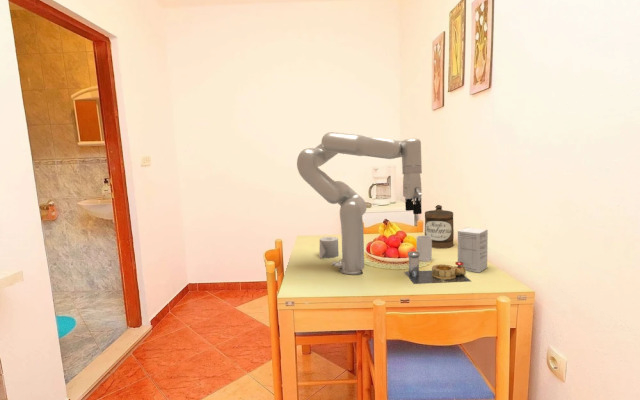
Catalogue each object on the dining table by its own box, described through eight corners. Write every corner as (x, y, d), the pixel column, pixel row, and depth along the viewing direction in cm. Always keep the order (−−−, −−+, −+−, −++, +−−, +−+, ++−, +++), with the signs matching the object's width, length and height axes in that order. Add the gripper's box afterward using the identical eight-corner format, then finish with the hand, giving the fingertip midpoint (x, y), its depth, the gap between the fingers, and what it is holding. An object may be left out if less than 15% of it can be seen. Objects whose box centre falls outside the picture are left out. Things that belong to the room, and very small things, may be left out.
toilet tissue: (318, 260, 171) (317, 243, 170) (321, 252, 184) (321, 236, 183) (336, 260, 169) (336, 243, 168) (339, 252, 182) (338, 236, 181)
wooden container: (423, 247, 187) (423, 206, 184) (426, 241, 200) (426, 202, 198) (452, 249, 181) (453, 207, 178) (453, 242, 194) (454, 203, 192)
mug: (431, 265, 157) (431, 239, 155) (416, 264, 159) (416, 238, 157) (432, 258, 166) (432, 234, 165) (417, 258, 168) (417, 233, 167)
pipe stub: (409, 276, 139) (409, 254, 138) (406, 272, 143) (406, 251, 142) (421, 276, 139) (421, 254, 138) (417, 272, 144) (417, 251, 142)
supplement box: (488, 267, 151) (488, 229, 149) (479, 273, 144) (480, 233, 142) (465, 263, 158) (466, 226, 155) (456, 268, 151) (457, 230, 149)
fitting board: (413, 287, 131) (413, 270, 131) (404, 275, 145) (403, 259, 145) (471, 285, 132) (472, 268, 131) (456, 272, 146) (456, 257, 145)
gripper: (396, 170, 149) (398, 209, 151) (409, 171, 132) (411, 216, 134) (413, 169, 149) (415, 208, 151) (429, 170, 132) (430, 214, 134)
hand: (413, 212), depth 143 cm, fingers open, 9 cm apart
